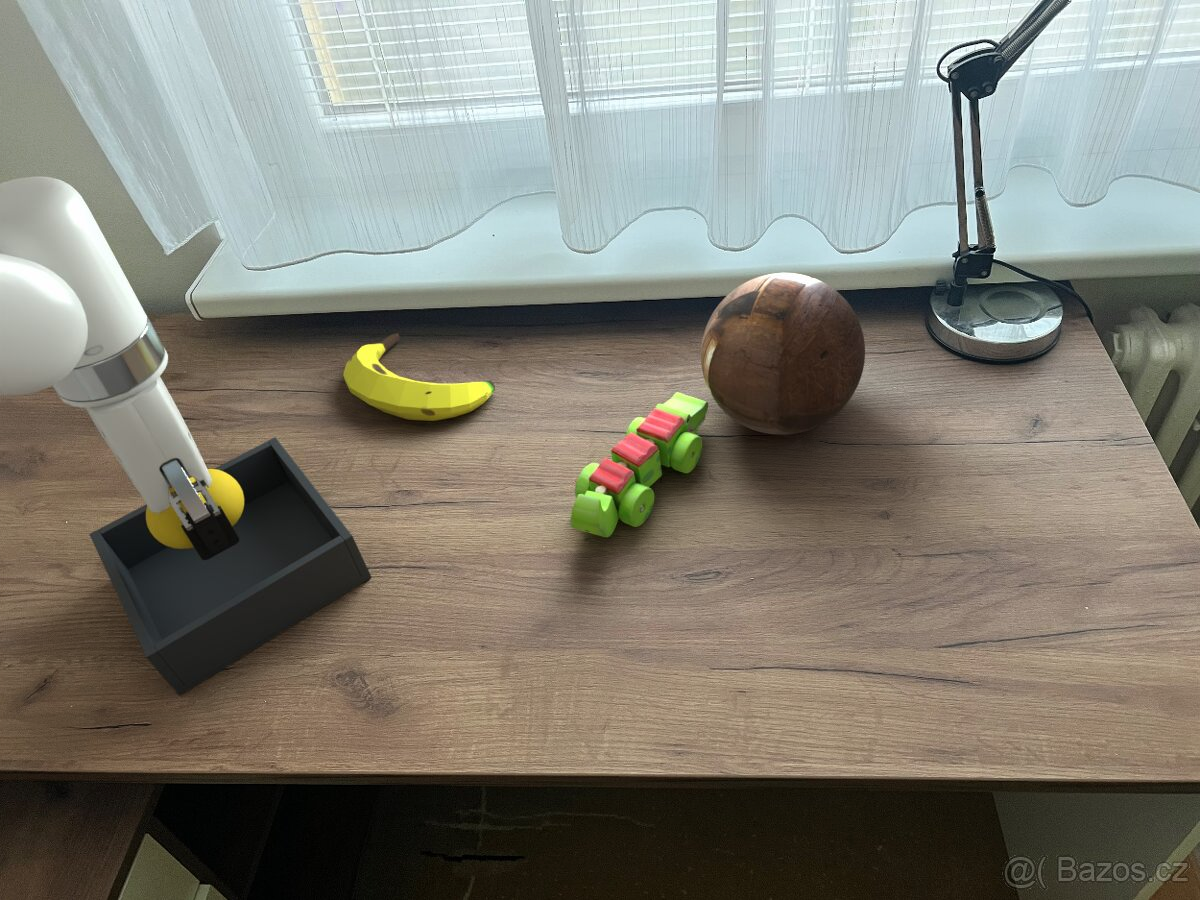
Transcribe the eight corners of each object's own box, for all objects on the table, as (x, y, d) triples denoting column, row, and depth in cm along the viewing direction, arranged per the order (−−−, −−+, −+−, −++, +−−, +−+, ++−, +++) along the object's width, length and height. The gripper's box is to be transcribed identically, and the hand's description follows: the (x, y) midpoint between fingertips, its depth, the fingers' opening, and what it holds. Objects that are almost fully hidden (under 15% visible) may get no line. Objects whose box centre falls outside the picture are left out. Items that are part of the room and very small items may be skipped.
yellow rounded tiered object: (176, 574, 71) (145, 528, 67) (155, 535, 74) (124, 489, 70) (264, 526, 74) (239, 479, 70) (240, 490, 77) (215, 444, 73)
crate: (179, 696, 71) (146, 657, 66) (120, 574, 80) (88, 533, 76) (372, 577, 77) (352, 535, 73) (295, 478, 87) (275, 436, 83)
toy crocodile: (671, 409, 89) (668, 362, 85) (727, 432, 86) (728, 385, 82) (549, 535, 79) (539, 490, 74) (608, 567, 75) (601, 521, 71)
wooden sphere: (858, 371, 90) (876, 245, 80) (852, 475, 80) (871, 346, 70) (714, 360, 94) (713, 237, 83) (690, 458, 84) (686, 333, 73)
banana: (479, 397, 87) (514, 326, 99) (314, 384, 89) (368, 316, 101) (483, 435, 89) (517, 361, 101) (323, 421, 92) (374, 351, 104)
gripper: (22, 329, 65) (134, 495, 77) (80, 444, 54) (199, 615, 67) (123, 288, 68) (215, 455, 80) (197, 389, 57) (289, 563, 70)
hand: (207, 526), depth 73 cm, fingers closed on yellow rounded tiered object, 5 cm apart
